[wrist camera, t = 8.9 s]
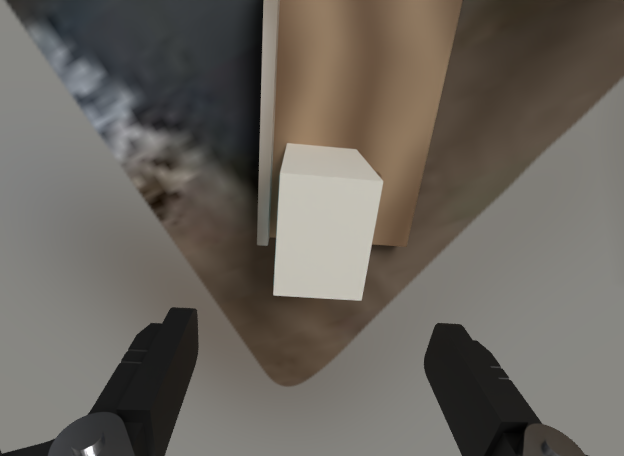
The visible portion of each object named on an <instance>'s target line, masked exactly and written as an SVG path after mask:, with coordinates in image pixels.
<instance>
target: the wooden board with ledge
mask: <svg viewBox="0 0 624 456" xmlns="http://www.w3.org/2000/svg"><path fill="white" fill-rule="evenodd" d="M462 2H463V0H264V4H263V41H262V78H261V115H260V152H259V189H258V226H257V245H264V246H268V241H269V237H272V238H276V229H277V211H278V193H279V175H280V171H281V167H282V163H283V158H284V154H285V150H286V146H287V143H292V144H303V145H314V146H325V147H336V148H348V149H357V150H358V152H359V153H360V154H361V155H362V156H363V158H364V159H365V160H366V161H367V162H368V164H369V165H370V166H371V167H372V168H373V170H374V171H375V172H376V173H377V174H378V176H379V177H380V178H381V179H382V180H383V186H382V192H381V197H380V203H379V208H378V213H377V219H376V224H375V230H374V235H373V241H372V244H374V245H388V246H403V247H406V246H407V242H408V237H409V233H410V229H411V224H412V220H413V216H414V211H415V207H416V202H417V198H418V194H419V189H420V185H421V181H422V176H423V172H424V168H425V163H426V159H427V154H428V150H429V146H430V141H431V137H432V133H433V128H434V124H435V119H436V115H437V111H438V106H439V102H440V98H441V93H442V89H443V85H444V80H445V76H446V71H447V67H448V63H449V58H450V54H451V50H452V45H453V41H454V36H455V32H456V28H457V23H458V19H459V15H460V10H461V6H462Z"/></svg>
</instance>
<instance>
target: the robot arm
mask: <svg viewBox="0 0 624 456" xmlns="http://www.w3.org/2000/svg"><path fill="white" fill-rule="evenodd" d="M197 355H198V320H197V310H196V309H193V308H175V307H173V308H171V309H170V310H169V312H168V314H167V316H166V318H165V319H164V321H163V323H162V324H160V323H151V324H150V325H148V326H147V327H146V328H145V329H144V330H142V331H141V332H140V333H139V334H137V335H136V337H135V339H134V341H133V342H132V344H131V345H130V347H129V349H128V351H127V352H126V354H125V355H124V357H123V358H122V361H121V363H120V364H119V365H118V367H117V368H116V370H115V372H114V373H113V375H112V377H111V378H110V380H109V381H108V383H107V385H106V386H105V388H104V390H103V391H102V393H101V395H100V396H99V398H98V399H97V401H96V403H95V405H94V406H93V408H92V409H91V411H90V412H89V414H88V415H86V416H84V417H82V418H80V419H78V420H76V421H74V422H73V423H71V424H70V425H69V426H67V427H66V428H65V429H64V430H63V431H62V432H61V433H60V434H59V435H58V436H57V437H56V438H55V439H53V440H51V441H48V442H45V443H41V444H38V445H34V446H30V447H27V448H22V449H19V450H15V451H11V452H7V453H3V454H2V453H1V451H0V456H165V453H166V450H167V447H168V444H169V441H170V438H171V435H172V432H173V429H174V426H175V423H176V420H177V417H178V414H179V411H180V408H181V406H182V403H183V400H184V397H185V394H186V391H187V388H188V385H189V382H190V379H191V376H192V373H193V370H194V367H195V364H196V360H197ZM424 369H425V373H426V376H427V378H428V381H429V383H430V385H431V387H432V390H433V392H434V394H435V396H436V398H437V401H438V403H439V405H440V407H441V410H442V412H443V414H444V416H445V419H446V421H447V423H448V425H449V428H450V430H451V432H452V434H453V437H454V439H455V441H456V443H457V445H458V448H459V450H460V452H461V454H462V456H588V455H585V454H584V453H583V451H582V450H581V449H580V448H579V447H578V445H577V444H576V443H575V442H573V441H572V440H571V439H570V438H569V437H568V436H566V435H564V434H563V433H562V432H560V431H558V430H556V429H555V428H552V427H550V426H547V425H544V424H542V423H541V421H540V420H539V418H538V417H537V416H536V414H535V413H534V412H533V410H532V409H531V407H530V406H529V405H528V403H527V402H526V400H525V399H524V398H523V396H522V395H521V394H520V392H519V391H518V389H517V388H516V387H515V385H514V384H513V382H512V381H511V380H509V377H508V376H507V374H506V373H505V372H504V370H503V369H501V367H500V365H499V363H498V362H497V360H496V359H495V358H494V356H493V355H492V353H491V352H490V351H489V350H487V349H486V348H485V347H484V346H482V345H481V344H480V343H479V342H478V341H474V340H472V339H471V337H470V336H469V334H468V333H467V331H466V330H465V328H464V327H463V326H462V325H460V324H448V323H437V324H436V325H435V327H434V330H433V333H432V336H431V339H430V342H429V345H428V348H427V351H426V354H425V358H424Z"/></svg>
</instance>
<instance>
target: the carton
mask: <svg viewBox="0 0 624 456" xmlns="http://www.w3.org/2000/svg"><path fill="white" fill-rule="evenodd" d="M382 186H383V180H382V179H381V178H380V177H379V176H378V174H377V173H376V172H375V171H374V170H373V168H372V167H371V166H370V165H369V164H368V162H367V161H366V160H365V159H364V158H363V156H362V155H361V154H360V153H359V152H358V150H357V149H348V148H336V147H325V146H314V145H303V144H292V143H287V146H286V150H285V154H284V158H283V163H282V167H281V171H280V175H279V193H278V211H277V229H276V247H275V265H274V284H273V285H274V292H273V295H276V296H292V297H309V298H326V299H342V300H359V301H361V300H362V295H363V289H364V284H365V279H366V273H367V268H368V262H369V257H370V251H371V246H372V241H373V235H374V230H375V224H376V219H377V213H378V208H379V203H380V197H381V192H382Z"/></svg>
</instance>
